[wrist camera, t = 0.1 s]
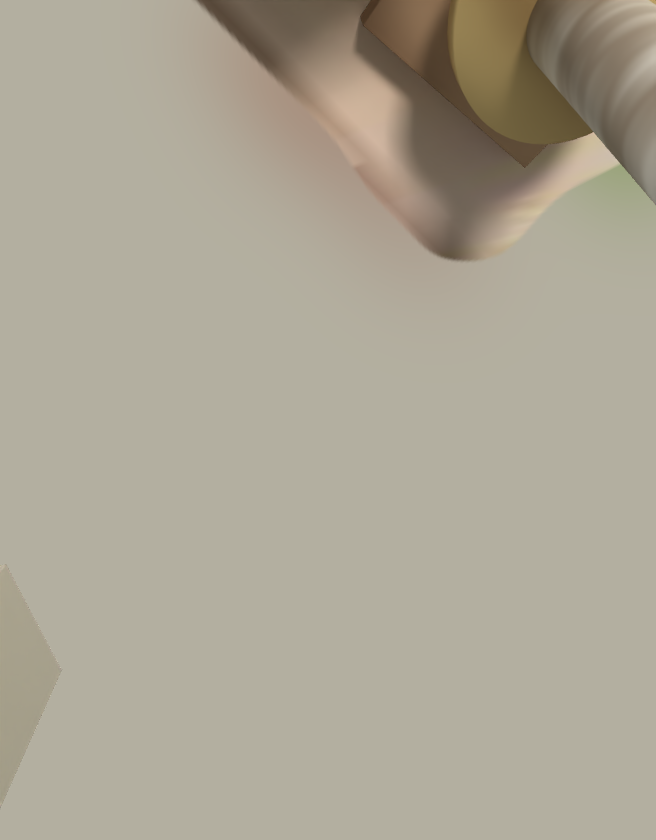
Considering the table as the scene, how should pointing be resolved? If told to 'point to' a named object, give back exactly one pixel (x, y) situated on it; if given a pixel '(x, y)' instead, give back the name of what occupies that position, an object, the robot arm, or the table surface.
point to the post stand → (537, 69)
